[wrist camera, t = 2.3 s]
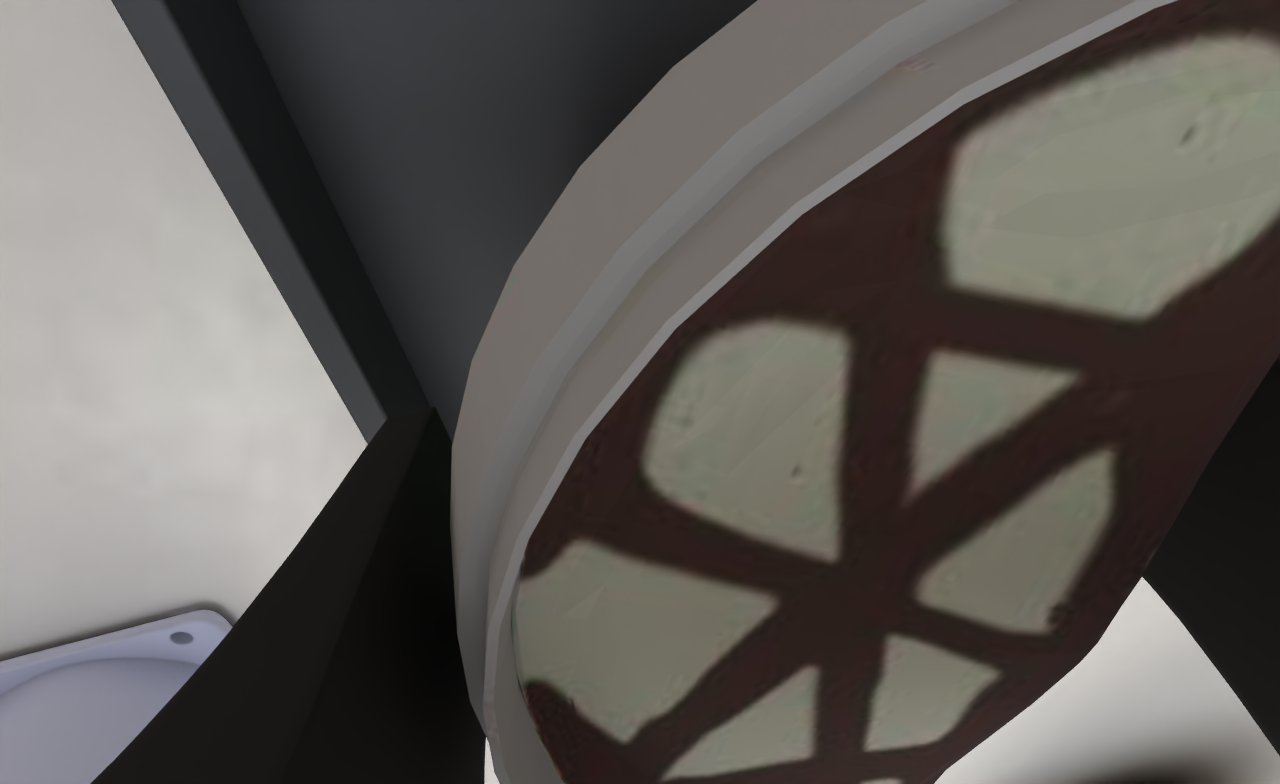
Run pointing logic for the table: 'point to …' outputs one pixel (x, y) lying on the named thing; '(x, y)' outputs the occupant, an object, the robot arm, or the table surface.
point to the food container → (861, 383)
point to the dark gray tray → (404, 154)
